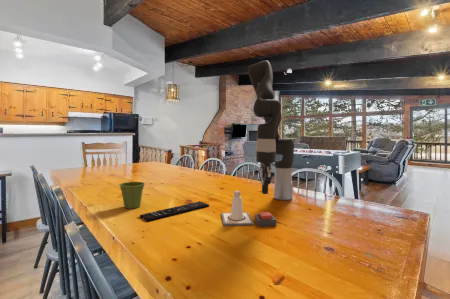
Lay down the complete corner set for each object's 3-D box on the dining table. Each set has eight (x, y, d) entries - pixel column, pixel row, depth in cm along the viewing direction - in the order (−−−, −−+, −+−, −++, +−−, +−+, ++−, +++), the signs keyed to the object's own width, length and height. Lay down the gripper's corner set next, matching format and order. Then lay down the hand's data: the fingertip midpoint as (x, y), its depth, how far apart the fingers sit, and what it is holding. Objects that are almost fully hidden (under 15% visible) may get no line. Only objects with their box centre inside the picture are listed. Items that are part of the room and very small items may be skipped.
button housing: (271, 219, 105) (271, 213, 105) (276, 226, 98) (276, 219, 98) (254, 220, 105) (255, 214, 105) (258, 226, 98) (258, 220, 98)
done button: (269, 216, 104) (269, 212, 104) (271, 219, 100) (272, 215, 99) (259, 216, 103) (259, 212, 103) (261, 220, 99) (261, 215, 99)
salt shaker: (229, 215, 108) (230, 189, 107) (242, 214, 109) (242, 189, 108) (231, 219, 103) (231, 192, 102) (244, 219, 103) (244, 192, 102)
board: (247, 213, 113) (247, 211, 113) (254, 225, 99) (254, 222, 99) (221, 214, 112) (221, 212, 112) (223, 225, 98) (223, 223, 98)
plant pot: (150, 206, 123) (149, 183, 122) (126, 212, 114) (125, 187, 113) (138, 201, 131) (137, 180, 130) (115, 206, 122) (114, 183, 121)
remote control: (139, 218, 107) (139, 213, 107) (199, 204, 129) (199, 200, 129) (147, 223, 102) (147, 218, 102) (209, 207, 123) (209, 203, 123)
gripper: (253, 149, 106) (252, 189, 107) (260, 151, 93) (259, 197, 94) (270, 149, 107) (269, 189, 108) (280, 151, 93) (278, 197, 95)
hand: (264, 193), depth 101 cm, fingers closed
